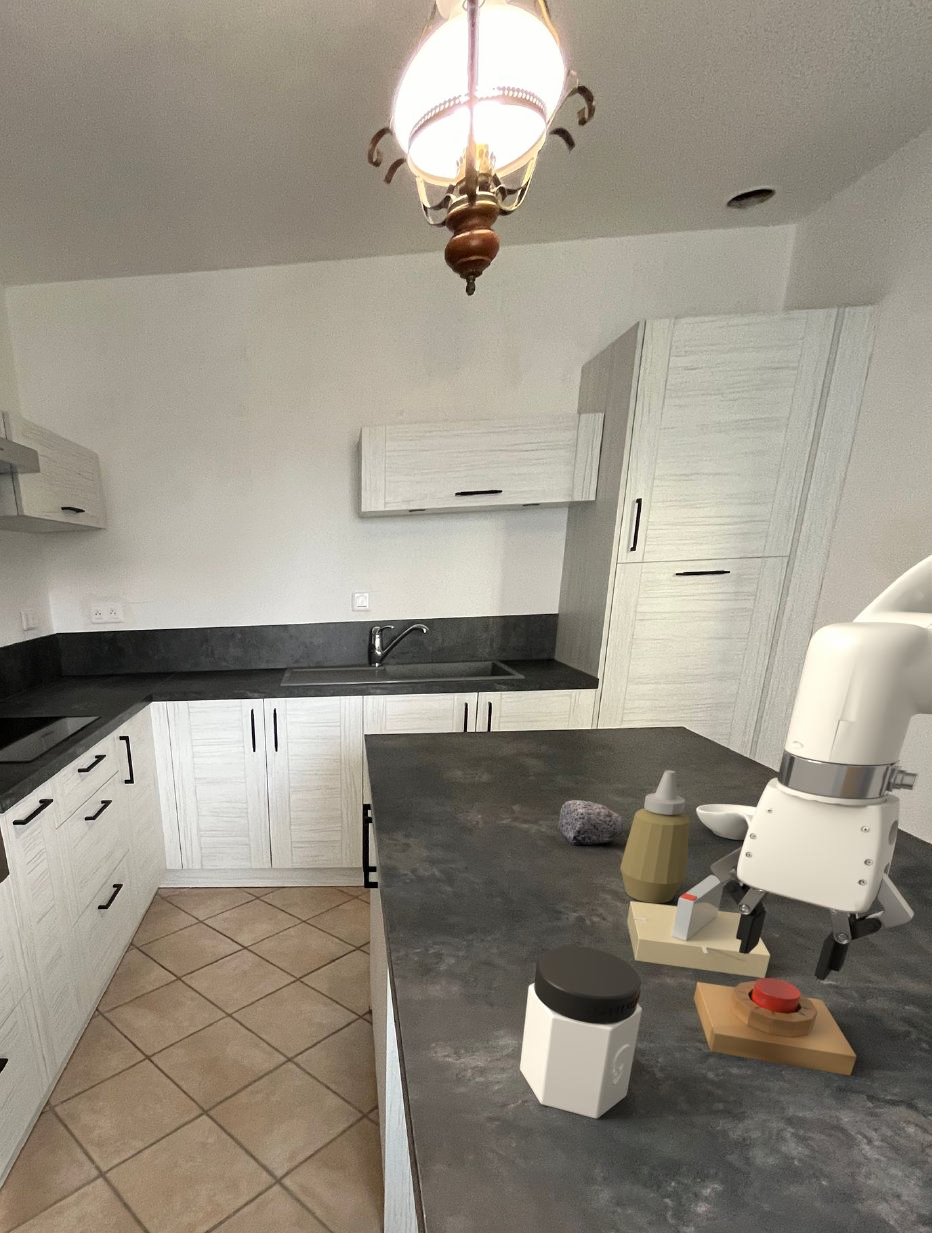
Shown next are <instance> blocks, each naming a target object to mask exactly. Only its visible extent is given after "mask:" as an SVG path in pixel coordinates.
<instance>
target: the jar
mask: <svg viewBox="0 0 932 1233" xmlns="http://www.w3.org/2000/svg"><path fill="white" fill-rule="evenodd" d="M535 965H536V966H535V975H534V982H533V983H531V984H529V985H528V989H527V990H528V991H527V1000H526V1008H525V1017H524V1027H523V1037H522V1046H521V1054H520V1055H521V1056H520V1062H519V1063H520V1065H519V1070H520V1072H521V1074H522V1075H523V1077H524V1079H525V1080H526V1082H527V1084H528V1085H529V1087H530V1089H531V1090H532V1092H533V1094H534V1095H535V1097H536V1099H537V1100H538V1102H539V1103H540V1104H541V1105H542V1106H546V1107H550V1108H554V1109H557V1110H560V1111H564V1112H569V1113H572V1114H577V1115H580V1116H583V1117H588V1118H590V1119H591V1118H592V1119H595V1120H596V1119H599V1118H600V1117H602V1116H603V1115H604V1114H605V1113H607V1112H608V1111H609V1110H611V1109H612V1108H613V1107H614V1106H616V1105H617V1104H618V1103H619V1102H621V1101H622V1100H623V1099H624V1098H625V1097H627V1094H628V1090H629V1083H630V1079H631V1078H630V1077H631V1072H632V1066H633V1062H634V1056H635V1050H636V1046H637V1040H638V1033H639V1028H640V1024H641V1018H642V1013H643V1009H642V1007H641V1005H640V1004H639V1001H640V997H641V984H642V982H641V980H642V979H641V976H640V974H639V972H638V971H637V969H636V968H634V967H633V966H632V965H631V963H628V962H627V961H626V960H624V959H622V958H620V957H619V956H617V955H615V954H613V953H610V952H607V951H604V950H601V949H597V948H592V947H586V946H576V945H575V946H574V945H572V946H571V945H570V946H559V947H553V948H551V949H548V950H547V951H545V952H543V953H541V955H540V956H539V957H538V958H537V961H536V964H535Z"/></svg>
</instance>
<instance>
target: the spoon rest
mask: <svg viewBox="0 0 932 1233" xmlns="http://www.w3.org/2000/svg"><path fill="white" fill-rule="evenodd" d="M756 807H757V806H750V805H744V804H743V805H741V804H728V803H727V804H726V803H711V804H710V803H709V804H702V805H698V806H697V807H696V810H695V812H696V815H697V816H698V819H699V820H700V821H701V823H702V824H703V825H704V826H705V827H707V828H708V829H709V830H711V832H712V833H713V834H714V835H716V836H718V837H720V838H724V839H729V840H736V841H744V840H745V837H746V834H747V831H748V829H749V826H750V823H751V820H752V818H753V815H754V812H755V810H756Z"/></svg>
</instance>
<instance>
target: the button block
mask: <svg viewBox="0 0 932 1233" xmlns="http://www.w3.org/2000/svg"><path fill="white" fill-rule="evenodd" d="M755 982H756V980H751V981H744V982H739V983H738V984H737V985H736V986H729V985H722V984H715V983H707V982H701V981H697V982H696V987H695V991H694V996H693V1001H694V1004H695V1007H696V1010H697V1013H698V1016H699V1019H700V1023H701V1025H702V1029H703V1032H704V1035H705V1039H706V1041H707V1044H708V1047H709V1050H710V1052H711V1053H716V1054H723V1055H729V1056H735V1057H739V1058H740V1057H741V1058H746V1059H752V1060H757V1061H764V1062H768V1063H769V1062H770V1063H775V1064H781V1065H787V1066H793V1067H798V1068H802V1069H803V1068H805V1069H810V1070H816V1071H822V1072H827V1073H833V1074H839V1075H845V1076H851V1075H852V1072H853V1069H854V1066H855V1063H856V1060H857V1055H856V1052H855V1051H854V1050H853V1048H852V1046H851V1045H850V1043H849V1041H848V1040H847V1038H846V1036H845V1035H844V1033H843V1031H842V1030H841V1028H840V1027H839V1025H838V1023H837V1022H836V1020H835V1019H834V1017H833V1015H832V1014H831V1012H830V1011H829V1008H828V1007H827V1005H826V1004H825V1002H824V1001H823V999H819V998H813V997H812V998H811V997H806V996H805V995H803V994H801V995H800V999H799V1003H798V1006H797V1010H796V1012H795V1013H790V1014H785V1013H778V1012H773V1011H770V1010H767V1009H765V1008H762V1007H760V1006H758V1005H757V1004H756V1003H754V1002H753V1001H752V999H751V997H752V993H753V989H754V985H755Z"/></svg>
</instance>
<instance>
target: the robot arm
mask: <svg viewBox="0 0 932 1233" xmlns="http://www.w3.org/2000/svg"><path fill="white" fill-rule="evenodd" d="M918 714H919V715H922V714H923V715H932V554H930V555H929V556H928V557H926V558H924V559H923V560H921V561H919V562H918V563H917V564H915V565H914V566H912V567H911V568H909V569H908V570H907V571H905V572H904V573H903V574H902V575H900V576H899V577H898V578H897V579H896V580H895V581H893V582H892V583H891V584H890V585H889V586H888V587H887V588H885V589H884V591H882V592H881V593H880V594H879V595H878V596H877V597H876V598H874V600H873V601H871V603H869V604H868V605H867V606H866V607H865V608H864V609H863V610H861V612H860V613H859V614H858V615H856V617H855V618H854V619H853V620H852V621H846V622H845V621H844V622H837V623H830V624H828V625H825V626H822V627H821V628H819V629H818V630H817V631H816V632H815V633H814V634H813V635H812V637H811V639H810V640H809V643H808V647H807V650H806V653H805V658H804V663H803V666H802V671H801V676H800V679H799V684H798V689H797V693H796V697H795V701H794V706H793V710H792V714H791V718H790V723H789V726H788V731H787V736H786V741H785V744H784V749H783V751H782V752H783V753H782V757H781V760H780V766H779V771H778V774H777V777H774V778H771V779H770V780H769V781H768V783H767V784H766V786H765V788H764V790H763V792H762V794H761V796H760V798H759V801H758V803H757V805H756V806H755V807H756V810H755V812H754V815H753V818H752V820H751V823H750V826H749V829H748V831H747V834H746V837H745V840H743V844H742V846H739V847H738V848H737V849H735V850H734V851H732V852H730V853H728V854H726V855H725V856H722V858H720V859H718V860H716V861H715V862H713V863H712V864H711V865H710V866H709V868H710V869H709V870H710V872H711V873H712V875H714V876H716V877H717V878H718V880H719V881H720V882H721V883H723V884H724V889H725V890H726V893H727V894H728V895H729V896H730V897H731V898H732V900H733V902H734V903H736V905H737V906H736V908H737V911H738V913H740V914H741V917H740V921H739V925H738V930H737V934H736V939H738V940H741V944H740V949H739V952H740V953H743V954H746V953H747V954H749V953H750V952H751V951H752V950H753V949H754V948H755V947H756V946H757V945H758V943H759V939H760V937H761V935H762V931H763V926H764V924H765V923H764V922H765V918H766V915H767V910H765V909H766V907H765V906H764V904H763V902H764V900H765V899H766V898H767V897H768V895H769V894H773V895H777V896H780V897H785V898H786V899H791V900H794V901H799V902H802V903H805V904H808V905H809V904H810V905H813V906H816V907H821V908H824V909H828V910H829V917H830V922H831V928H832V930H831V932H830V933H829V934H828V935H827V937H826V938H825V939H824V941H823V943H822V947H821V950H820V954H819V958H818V962H817V964H816V969H815V972H814V977H815V978H816V979H817V980H820V981H823V982H824V981H825V980H826V978H828V976H829V975H830V973H831V972H832V971H833V972H837V973H840V971H841V970H842V968H843V966H844V963H845V960H846V956H847V953H848V950H849V945H850V943H851V941H854V940H858V939H859V938H863V937H866V936H869V935H872V934H875V933H878V932H879V931H882V930H887V929H891V928H894V927H899V926H903V925H906V924H908V923H910V922H911V921H912V919H913V918H914V916H915V913H914V911H913V910H912V908H911V907H910V905H909V904H908V902H907V901H906V899H905V898H904V897H903V895H902V894H901V892H900V891H899V889H898V888H897V887H896V885H895V884H894V882H893V881H892V879H891V878H890V876H889V873H890V869H891V864H892V860H893V856H894V851H895V846H896V841H897V836H898V831H899V830H898V829H899V822H900V813H901V812H900V808H901V807H900V804H901V803H900V800H901V799H900V797H898V796H897V795H894V794H892V792H893V791H895V790H898V791H900V790H901V789H902V790H910V791H913V790H914V789H915V787H916V785H917V782H918V779H919V776H920V775H919V773H915V772H908V770H906V769H902V767H903V766H901V765H900V762H901V759H900V756H901V752H902V749H903V746H904V742H905V739H906V735H907V732H908V729H909V726H910V722H911V718H912V717H914V716H915V715H918ZM736 867H737V868H736ZM735 868H736V870H735ZM875 900H877V901H878V903H879V904H880V905H881V906H882V908H883V910H881V911H879V912H873V913H868V914H866V915H863V916H860V917H859V915H858V914H864V913H867V911H869V910H870V908H871V907H872V905H873V902H874V901H875Z"/></svg>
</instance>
